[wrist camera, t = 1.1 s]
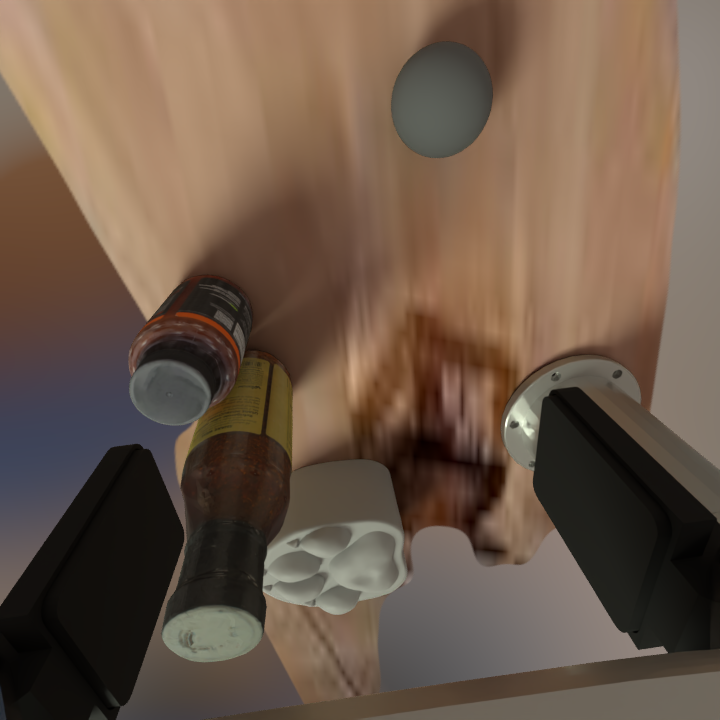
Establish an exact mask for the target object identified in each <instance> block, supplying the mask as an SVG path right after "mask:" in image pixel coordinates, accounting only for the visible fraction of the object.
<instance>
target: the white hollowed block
mask: <svg viewBox="0 0 720 720" xmlns="http://www.w3.org/2000/svg"><path fill="white" fill-rule="evenodd" d="M403 545H404V532H403V528H402V523H401V518H400V514H399V510H398V506H397V502H396V498H395V493H394V489H393V485H392V480H391V476H390V472H389V470H388V469H387V468H386V467H385V466H384V465H382V464H380V463H378V462H376V461H372V460H367V459H353V460H342V461H333V462H326V463H321V464H315V465H311V466H307V467H303V468H300V469H297V470H295V471H294V472H292V473H291V477H290V503H289V508H288V511H287V514H286V517H285V520H284V523H283V526H282V528H281V530H280V532H279V533H278V534H277V536H276V537H275V538H274V539H273V540H272V542H271V543H270V544H269V545H268V546H267V557H266V560H265V562H264V577H263V592H265V593H266V594H268V595H270V596H272V597H274V598H276V599H279V600H281V601H284V602H288V603H293V604H299V605H306V606H309V607H313V606H314V607H320V608H321V609H323V610H324V611H326V612H328V613H331V614H335V615H340V614H344V613H347V612H349V611H350V610H352V609H353V608H354V607H355V606H356V604H357V602H358V601H361V600H366V599H371V598H375V597H379V596H382V595H386V594H389V593H391V592H392V591H394V590H395V589H397V588H398V587H399V586H400V585H401V584H402V583H403V582H404V581H405V579H406V577H407V565H406V561H405V556H404V551H403Z"/></svg>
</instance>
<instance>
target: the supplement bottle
mask: <svg viewBox="0 0 720 720" xmlns="http://www.w3.org/2000/svg"><path fill="white" fill-rule="evenodd" d="M252 321H253V312H252V307H251V304H250V302H249V300H248V298H247V296H246V295H245V294H244V292H243V291H242V290H241V289H240V288H239V287H238V286H236V285H235V284H234V283H232V282H230V281H229V280H227V279H224V278H222V277H218V276H213V275H200V276H195V277H192V278H189V279H187V280H185V281H184V282H182V283H181V284H180V285H179V286H178V287H177V288H176V289H174V291H173V292H172V293H171V294H170V295H169V297H168V298H167V299H166V300H165V301H164V303H163V304H162V305H161V306H160V307H159V309H158V310H157V311H156V312H155V314H154V315H153V316H152V317H151V318H150V320H149V321H148V322H147V323H146V325H145V326H144V327H143V328H142V330H141V331H140V332H139V333H138V335H137V336H136V338H135V339H134V341H133V343H132V345H131V348H130V351H129V369H130V373H131V376H132V377H131V380H130V385H129V392H130V396H131V399H132V402H133V403H134V405H135V407H136V408H137V409H138V410H139V411H140V412H141V413H142V414H143V415H145V416H146V417H148V418H149V419H151V420H153V421H155V422H158V423H162V424H166V425H184V424H188V423H190V422H194V421H196V420H197V419H199V418H200V417H202V416H203V415H204V414H205V413H206V411H207V410H208V408H210V407H212V406H214V405H216V404H217V403H220V402H221V401H222V400H223V399H225V397H226V396H227V395H228V394H229V393H230V391H231V390H232V389H233V387H234V385H235V383H236V380H237V377H238V374H239V371H240V367H241V363H242V360H243V356H244V353H245V349H246V345H247V342H248V338H249V335H250V332H251V328H252Z"/></svg>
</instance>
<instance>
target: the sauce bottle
mask: <svg viewBox="0 0 720 720" xmlns="http://www.w3.org/2000/svg"><path fill="white" fill-rule="evenodd" d="M291 473H292V385H291V379H290V374H289V373H288V371H287V370H286V368H285V366H284V365H283V364H281V362H280V361H279V360H278V359H276V358H275V357H274V356H272V355H271V354H269V353H266V352H262V351H256V350H253V351H248V350H247V351H245V353H244V356H243V360H242V363H241V367H240V371H239V374H238V377H237V380H236V383H235V385H234V387H233V389H232V390H231V391H230V393H229V394H228V395H227V396H226V397H225V399H223V400H222V401H221V402H220V403H217V404H216V405H214V406H212V407H210V408H208V410H207V411H206V413H205V414H204V415H203V416H202V417H200V418H199V420H198V423H197V426H196V429H195V433H194V436H193V439H192V442H191V445H190V448H189V451H188V454H187V458H186V461H185V464H184V468H183V473H182V480H181V491H182V496H183V499H184V503H185V517H186V534H187V543H186V546H185V550H184V554H185V559H184V562H183V566H182V570H181V572H180V577H179V581H178V585H177V588H176V590H175V592H174V594H173V595H172V596H171V598H170V600H169V601H168V603H167V607H166V612H165V617H164V622H163V628H162V638H163V640H164V642H165V644H166V645H167V647H168V648H169V649H171V650H172V651H173V652H175V653H176V654H178V655H179V656H181V657H184V658H186V659H188V660H191V661H200V662H213V661H222V660H227V659H231V658H234V657H237V656H240V655H243V654H245V653H248V652H249V651H250V650H251V649H253V648H254V647H255V646H256V645H257V644H258V643H259V642H260V640H261V638H262V636H263V633H264V625H265V617H266V607H267V606H266V600H265V597H264V595H263V577H264V562H265V560H266V557H267V546H268V545H269V544H270V543H271V542H272V540H273V539H274V538H275V537H276V536H277V534H278V533H279V532H280V530H281V528H282V526H283V523H284V520H285V517H286V514H287V511H288V508H289V503H290V477H291Z"/></svg>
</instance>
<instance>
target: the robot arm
mask: <svg viewBox="0 0 720 720" xmlns="http://www.w3.org/2000/svg"><path fill="white" fill-rule="evenodd" d="M501 437H502V440H503V443H504V446H505V447H506V449H507V451H508V452H509V454H510V456H511V457H512V458H513V459H514V460H515V461H516V462H517V463H518V464H520V465H521V466H523V467H524V468H526V469H529V470H531V471H534V476H533V487H534V491H535V493H536V496H537V497H538V499H539V501H540V502H541V504H542V506H543V507H544V509H545V511H546V512H547V514H548V516H549V517H550V519H551V521H552V522H553V524H554V525H555V527H556V529H557V530H558V532H559V534H560V535H561V537H562V538H563V540H564V542H565V544H566V545H567V547H568V548H569V550H570V552H571V553H572V555H573V557H574V558H575V560H576V561H577V563H578V565H579V567H580V568H581V570H582V572H583V573H584V575H585V576H586V578H587V580H588V581H589V583H590V585H591V586H592V588H593V590H594V591H595V593H596V595H597V596H598V598H599V600H600V601H601V603H602V604H603V606H604V608H605V609H606V611H607V613H608V614H609V616H610V617H611V619H612V621H613V623H614V624H615V625H616V627H617V628H618V629H619V630H620V631H621V632H623V633H625V632H627V633H628V634H629V636H630V637H631V639H632V641H633V642H634V644H635V645H636V647H637V649H638V650H640V649H647V648H653V647H660V646H664V648H665V649H666V651H667V652H668V653H667V654H659V655H651V656H643V657H635V658H626V659H618V660H610V661H602V662H594V663H586V664H580V665H572V666H565V667H558V668H551V669H544V670H537V671H530V672H523V673H516V674H509V675H502V676H495V677H488V678H480V679H473V680H467V681H459V682H453V683H446V684H439V685H432V686H425V687H418V688H411V689H404V690H398V691H391V692H384V693H377V694H370V695H364V696H357V697H350V698H343V699H336V700H330V701H323V702H316V703H309V704H303V705H297V706H289V707H283V708H276V709H270V710H263V711H257V712H250V713H243V714H237V715H230V716H224V717H217V718H211V719H204V720H720V470H719V469H718V468H717V467H715V466H714V465H713V464H712V463H711V462H709V461H708V460H707V459H706V458H704V457H703V456H702V455H701V454H699V453H698V452H697V451H696V450H695V449H693V448H692V447H691V446H690V445H688V444H687V443H686V442H685V441H684V440H683V439H681V438H680V437H679V436H678V435H677V434H675V433H674V432H673V431H672V430H670V429H669V428H668V427H667V426H666V425H664V424H663V423H662V422H661V421H659V420H658V419H657V418H656V417H655V416H653V415H652V414H651V413H650V412H649V411H647V410H646V409H645V408H644V407H642V406H641V392H640V387H639V385H638V382H637V380H636V378H635V377H634V376H633V375H632V373H631V372H630V371H629V370H627V369H626V368H625V367H624V366H622V365H621V364H620V363H618V362H616V361H614V360H612V359H610V358H607V357H603V356H599V355H579V356H572V357H568V358H565V359H561V360H558V361H556V362H554V363H551V364H549V365H547V366H545V367H543V368H542V369H540V370H539V371H537V372H536V373H534V374H533V375H531V376H530V377H529V378H528V379H527V380H526V381H525V382H523V383H522V384H521V385H520V387H519V388H518V389H517V390H516V391H515V392H514V394H513V395H512V397H511V398H510V400H509V402H508V403H507V405H506V408H505V410H504V413H503V416H502V422H501ZM183 543H184V530H183V527H182V524H181V522H180V520H179V517H178V515H177V513H176V510H175V508H174V505H173V503H172V500H171V498H170V496H169V493H168V491H167V489H166V486H165V484H164V482H163V479H162V477H161V474H160V472H159V470H158V467H157V465H156V463H155V460H154V458H153V456H152V453H151V451H150V450H149V449H143V447H142V446H141V445H140V444H132V445H125V446H117V447H112V448H110V449H109V450H108V451H107V453H106V454H105V456H104V457H103V459H102V460H101V462H100V463H99V465H98V466H97V468H96V469H95V470H94V472H93V473H92V475H91V476H90V477H89V479H88V480H87V482H86V483H85V485H84V486H83V488H82V489H81V490H80V492H79V493H78V495H77V496H76V498H75V499H74V501H73V502H72V503H71V505H70V506H69V508H68V509H67V511H66V512H65V514H64V515H63V517H62V518H61V519H60V521H59V522H58V524H57V525H56V527H55V528H54V529H53V531H52V532H51V534H50V535H49V537H48V538H47V540H46V541H45V542H44V544H43V545H42V547H41V548H40V550H39V551H38V552H37V554H36V555H35V557H34V558H33V560H32V561H31V563H30V564H29V565H28V567H27V568H26V570H25V571H24V573H23V574H22V576H21V577H20V579H19V580H18V581H17V583H16V584H15V586H14V587H13V588H12V590H11V591H10V593H9V594H8V596H7V597H6V599H5V600H4V602H3V603H2V604H1V606H0V720H116V718H117V715H118V712H119V709H120V706H124V705H125V704H126V703H127V702H128V700H129V699H130V697H131V694H132V692H133V689H134V686H135V683H136V680H137V677H138V674H139V671H140V668H141V666H142V663H143V660H144V657H145V654H146V651H147V648H148V645H149V642H150V640H151V637H152V634H153V631H154V628H155V625H156V622H157V619H158V616H159V613H160V611H161V607H162V604H163V601H164V599H165V596H166V593H167V590H168V587H169V584H170V581H171V579H172V575H173V572H174V570H175V566H176V564H177V561H178V558H179V555H180V552H181V549H182V547H183Z"/></svg>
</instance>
